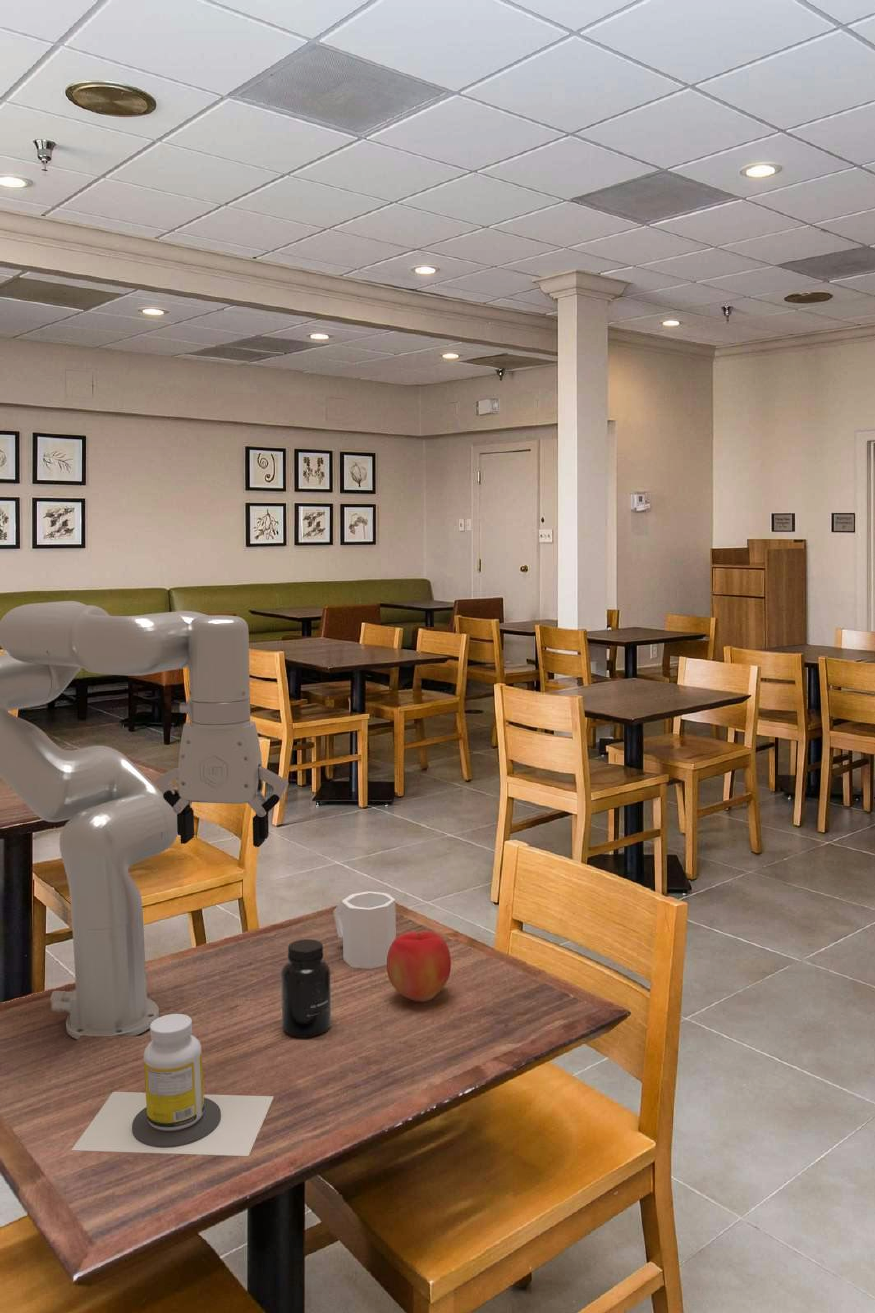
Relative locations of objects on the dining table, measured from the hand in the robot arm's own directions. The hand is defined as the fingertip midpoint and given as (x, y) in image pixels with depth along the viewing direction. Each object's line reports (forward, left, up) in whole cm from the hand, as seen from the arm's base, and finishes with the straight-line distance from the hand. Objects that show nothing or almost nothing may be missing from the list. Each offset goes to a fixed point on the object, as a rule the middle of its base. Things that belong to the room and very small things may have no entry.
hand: (223, 842), depth 133 cm
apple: (+24, +18, -29) cm, 42 cm away
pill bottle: (-2, -18, -28) cm, 33 cm away
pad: (-1, -18, -28) cm, 33 cm away
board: (-1, -18, -29) cm, 34 cm away
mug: (+13, +33, -29) cm, 46 cm away
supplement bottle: (+9, +8, -29) cm, 32 cm away
